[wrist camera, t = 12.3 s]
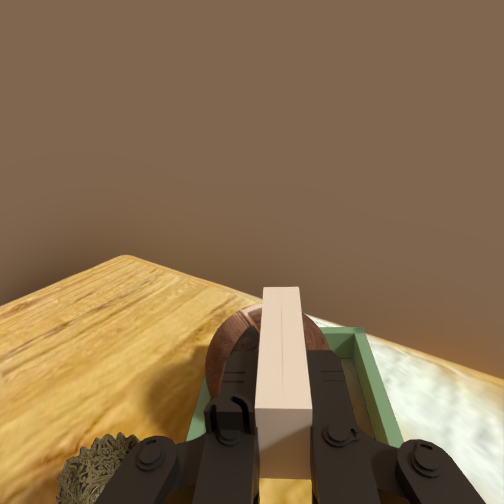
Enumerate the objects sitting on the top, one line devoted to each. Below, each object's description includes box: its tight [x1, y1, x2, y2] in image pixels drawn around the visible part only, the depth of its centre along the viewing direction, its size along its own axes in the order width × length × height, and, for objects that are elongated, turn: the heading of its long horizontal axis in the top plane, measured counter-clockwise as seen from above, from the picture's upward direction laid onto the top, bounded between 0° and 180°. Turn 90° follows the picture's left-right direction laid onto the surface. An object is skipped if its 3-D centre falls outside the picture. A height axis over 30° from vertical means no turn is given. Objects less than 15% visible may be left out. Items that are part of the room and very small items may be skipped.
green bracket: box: [186, 327, 404, 448], centre depth 45 cm, size 20×22×4 cm
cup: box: [56, 432, 140, 504], centre depth 32 cm, size 8×7×8 cm
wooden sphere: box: [205, 303, 331, 399], centre depth 42 cm, size 15×15×15 cm
